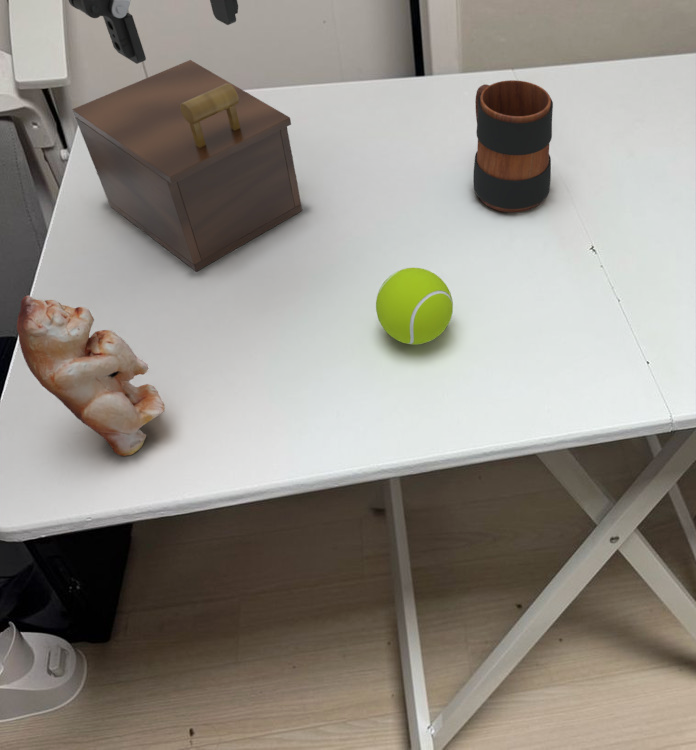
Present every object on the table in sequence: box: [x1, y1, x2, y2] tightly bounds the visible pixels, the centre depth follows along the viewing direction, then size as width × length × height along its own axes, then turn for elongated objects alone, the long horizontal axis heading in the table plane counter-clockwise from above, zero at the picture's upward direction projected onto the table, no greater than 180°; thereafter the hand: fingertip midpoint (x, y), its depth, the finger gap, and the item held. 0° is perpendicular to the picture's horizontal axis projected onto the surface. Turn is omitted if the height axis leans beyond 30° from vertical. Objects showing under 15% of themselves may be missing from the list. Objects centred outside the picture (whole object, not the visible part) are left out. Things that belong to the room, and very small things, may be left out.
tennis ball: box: [375, 267, 454, 345], centre depth 76 cm, size 7×7×7 cm
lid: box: [71, 59, 292, 184], centre depth 80 cm, size 17×14×5 cm
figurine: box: [16, 294, 165, 457], centre depth 65 cm, size 6×8×15 cm
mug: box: [472, 79, 554, 214], centre depth 91 cm, size 9×12×12 cm
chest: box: [74, 116, 303, 272], centre depth 87 cm, size 16×14×11 cm
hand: (181, 39), depth 67 cm, fingers open, 8 cm apart
